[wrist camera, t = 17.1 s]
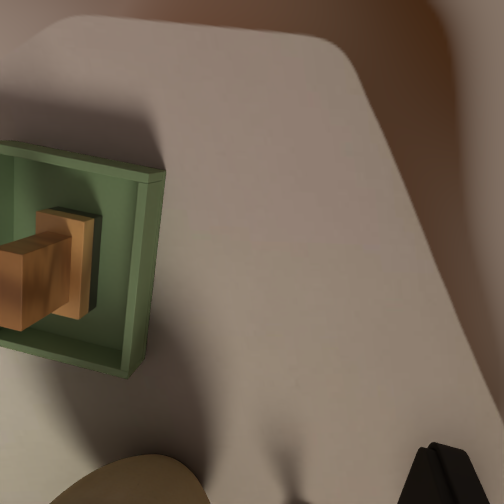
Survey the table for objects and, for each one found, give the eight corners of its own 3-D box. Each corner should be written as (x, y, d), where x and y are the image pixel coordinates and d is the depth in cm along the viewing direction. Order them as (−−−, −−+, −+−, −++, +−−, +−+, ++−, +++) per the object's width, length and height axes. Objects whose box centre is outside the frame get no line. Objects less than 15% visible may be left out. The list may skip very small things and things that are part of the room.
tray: (13, 140, 37) (-21, 139, 33) (166, 170, 36) (148, 173, 32) (11, 325, 42) (-19, 342, 39) (145, 358, 41) (127, 379, 37)
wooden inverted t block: (57, 205, 37) (-22, 224, 29) (103, 215, 37) (36, 237, 28) (54, 297, 40) (-21, 339, 31) (96, 307, 39) (33, 353, 31)
